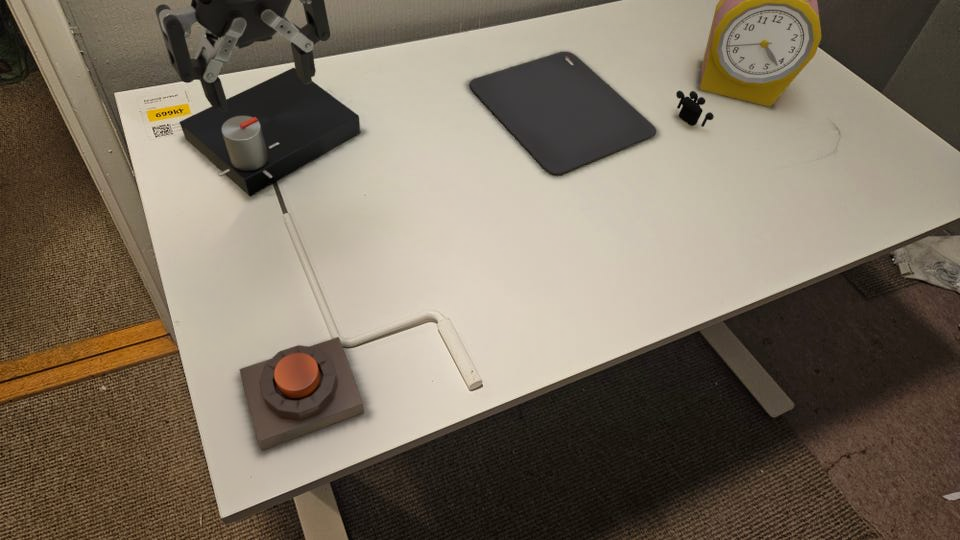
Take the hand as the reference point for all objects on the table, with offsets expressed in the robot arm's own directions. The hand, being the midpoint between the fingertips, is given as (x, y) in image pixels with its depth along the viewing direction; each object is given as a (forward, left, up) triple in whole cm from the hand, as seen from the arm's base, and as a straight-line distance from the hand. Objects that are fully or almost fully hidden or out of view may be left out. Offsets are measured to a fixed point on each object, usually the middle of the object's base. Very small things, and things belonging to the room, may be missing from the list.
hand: (264, 92), depth 60 cm
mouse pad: (+43, -4, -18) cm, 47 cm away
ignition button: (-11, -22, -15) cm, 28 cm away
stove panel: (+5, +13, -18) cm, 23 cm away
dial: (0, +8, -15) cm, 17 cm away
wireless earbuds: (+57, -17, -19) cm, 62 cm away
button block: (-11, -22, -18) cm, 30 cm away
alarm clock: (+72, -16, -19) cm, 76 cm away
